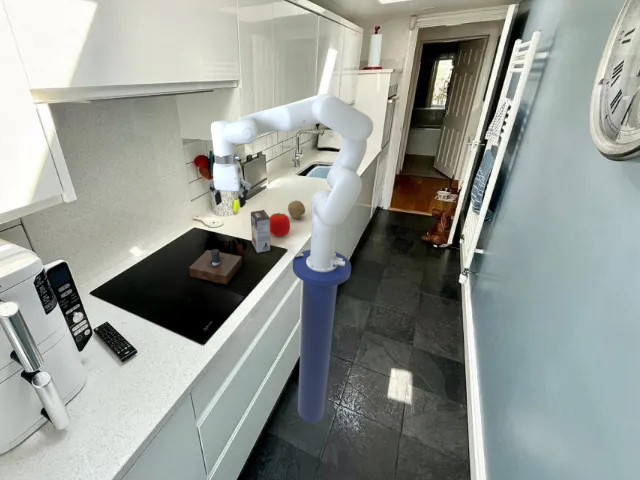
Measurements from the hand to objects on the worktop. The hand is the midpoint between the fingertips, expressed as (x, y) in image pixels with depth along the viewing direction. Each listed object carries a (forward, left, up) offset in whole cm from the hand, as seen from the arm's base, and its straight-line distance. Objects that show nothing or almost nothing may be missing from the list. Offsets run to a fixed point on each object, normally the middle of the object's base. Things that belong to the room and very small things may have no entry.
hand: (230, 204), depth 113 cm
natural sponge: (-11, -53, -28) cm, 60 cm away
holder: (+6, +4, -28) cm, 28 cm away
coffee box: (-4, -19, -28) cm, 34 cm away
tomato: (-8, -33, -28) cm, 43 cm away
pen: (+6, +4, -28) cm, 28 cm away
